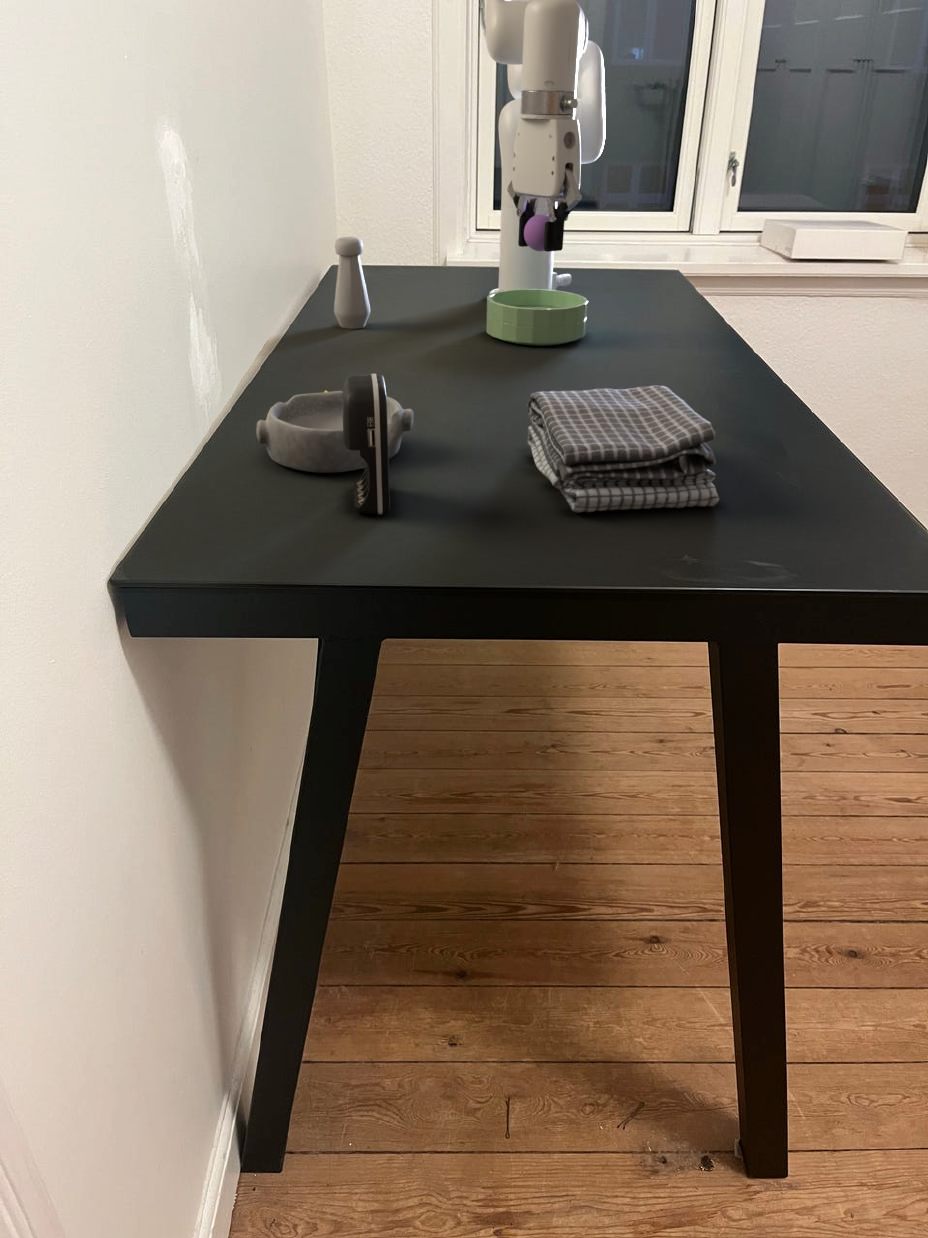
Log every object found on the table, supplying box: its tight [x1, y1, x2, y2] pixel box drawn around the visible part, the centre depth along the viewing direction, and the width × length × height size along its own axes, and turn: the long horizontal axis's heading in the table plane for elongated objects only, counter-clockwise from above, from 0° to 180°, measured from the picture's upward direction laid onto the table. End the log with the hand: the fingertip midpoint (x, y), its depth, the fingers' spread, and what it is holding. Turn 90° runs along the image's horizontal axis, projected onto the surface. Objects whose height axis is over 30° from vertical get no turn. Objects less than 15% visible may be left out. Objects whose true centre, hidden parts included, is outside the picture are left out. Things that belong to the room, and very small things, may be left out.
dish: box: [255, 390, 414, 474], centre depth 94 cm, size 14×14×5 cm
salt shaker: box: [333, 236, 372, 330], centre depth 142 cm, size 6×6×13 cm
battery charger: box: [342, 373, 391, 516], centre depth 81 cm, size 7×4×11 cm, turn 7°
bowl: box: [485, 289, 589, 346], centre depth 140 cm, size 15×15×6 cm
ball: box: [524, 214, 549, 251], centre depth 134 cm, size 5×5×5 cm
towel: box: [526, 384, 720, 514], centre depth 89 cm, size 15×18×8 cm
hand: (540, 246), depth 135 cm, fingers closed on ball, 4 cm apart
